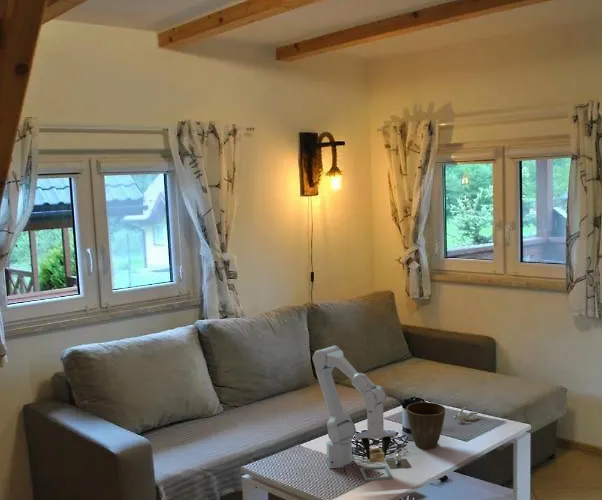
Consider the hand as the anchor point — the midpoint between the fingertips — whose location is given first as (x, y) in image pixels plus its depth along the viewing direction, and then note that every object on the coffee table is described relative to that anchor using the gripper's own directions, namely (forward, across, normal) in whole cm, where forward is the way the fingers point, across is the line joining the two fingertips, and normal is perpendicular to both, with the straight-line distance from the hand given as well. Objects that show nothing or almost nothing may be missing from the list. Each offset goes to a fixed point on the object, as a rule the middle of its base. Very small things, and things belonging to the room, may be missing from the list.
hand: (375, 457), depth 254 cm
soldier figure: (+7, +50, +47) cm, 69 cm away
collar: (+1, 0, 0) cm, 1 cm away
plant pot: (+7, +25, +22) cm, 34 cm away
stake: (+7, +10, +7) cm, 14 cm away
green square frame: (+7, 0, 0) cm, 7 cm away
